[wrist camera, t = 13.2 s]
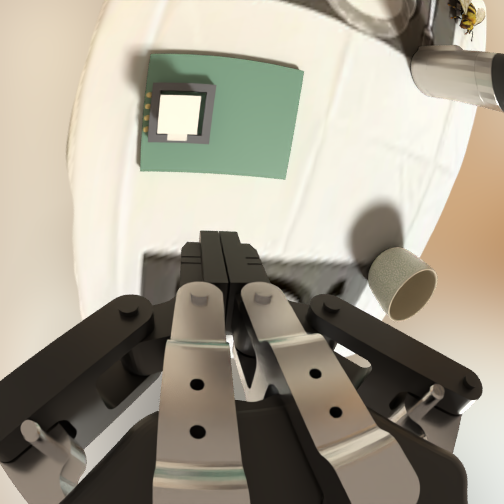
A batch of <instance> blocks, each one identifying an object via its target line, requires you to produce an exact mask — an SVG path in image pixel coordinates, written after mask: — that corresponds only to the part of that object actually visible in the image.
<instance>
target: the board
mask: <svg viewBox="0 0 504 504" xmlns="http://www.w3.org/2000/svg"><path fill="white" fill-rule="evenodd" d="M303 75H304V71H301V70H297V69H293V68H288V67H284V66H279V65H274V64H269V63H263V62H257V61H251V60H244V59H237V58H229V57H219V56H208V55H192V54H151V56H150V62H149V69H148V76H147V83H146V91H145V101H144V111H143V123H142V138H141V162H140V171H160V172H193V173H213V174H228V175H242V176H254V177H264V178H274V179H283V180H285V178H286V173H287V168H288V162H289V157H290V151H291V145H292V140H293V134H294V128H295V123H296V117H297V111H298V105H299V99H300V93H301V87H302V81H303ZM161 95H187V96H201V102H200V110H199V119H198V128H197V135H194V134H187V141H172V140H167V136H168V134H157V129H158V117H159V106H160V97H161Z"/></svg>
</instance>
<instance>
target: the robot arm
mask: <svg viewBox="0 0 504 504" xmlns="http://www.w3.org/2000/svg"><path fill="white" fill-rule="evenodd" d="M411 72H412V76H413V79H414V82H415V84H416V86H417V87H418V89H419V90H420V91H421V92H422V93H423V94H425V95H427V96H429V97H435V98H442V99H447V100H453V101H458V102H463V103H468V104H472V105H476V106H481V107H485V108H488V109H492V110H496V111H499V112H503V113H504V54H501V53H492V52H482V51H468V50H463V49H462V48H461V47H459V46H457V45H433V46H419V49H418V51H417V52H416V53H415V54H414V56H413V58H412V61H411ZM259 258H260V257H259V255H258V253H257V250H256V249H254V248H253V247H252V246H251V245H250V244H241V243H240V240H239V237H238V234H237V232H228V231H219V233H218V231H200V238H199V242H187V243H186V244H185V245H184V246H183V247H182V250H181V270H180V289H179V290H178V292H177V295H176V296H175V297H174V298H173V299H171V300H170V301H168V302H165V303H162V304H157V305H152V304H151V303H150V301H149V300H147V299H146V298H144V297H142V296H139V295H123V296H120V297H117V298H116V299H114V300H112V301H111V302H109V303H108V304H106V305H105V306H103V307H102V308H100V309H99V310H98V311H96V312H95V313H93V314H92V315H90V316H89V317H87V318H86V319H84V320H83V321H82V322H80V323H79V324H77V325H76V326H74V327H73V328H72V329H70V330H69V331H68V332H66V333H65V334H63V335H62V336H60V337H59V338H57V339H56V340H55V341H53V342H52V343H50V344H49V345H48V346H46V347H45V348H44V349H42V350H41V351H39V352H38V353H37V354H35V355H34V356H33V357H32V358H30V359H29V360H27V361H26V362H25V363H23V364H22V365H21V366H19V367H18V368H17V369H15V370H14V371H13V372H11V373H10V374H9V375H7V376H6V377H5V378H4V379H2V380H1V381H0V464H1V466H2V467H3V469H4V470H5V472H6V473H7V475H8V476H9V478H10V479H11V481H12V482H13V484H14V485H15V487H16V488H17V489H18V491H19V492H20V493H21V495H22V496H23V497H24V499H25V500H26V501H27V502H28V504H468V501H467V474H466V471H465V468H464V466H463V464H462V463H461V461H460V460H459V459H458V458H457V457H456V456H455V455H454V454H453V450H454V446H455V442H456V438H457V434H458V430H459V425H460V420H461V416H462V414H463V413H464V412H465V411H466V410H467V409H468V408H469V407H470V406H472V405H473V404H474V403H475V402H476V401H477V400H478V399H479V398H480V396H481V395H482V384H481V381H480V379H479V378H478V376H477V375H476V374H475V373H474V372H473V371H472V370H470V369H468V368H466V367H465V366H463V365H461V364H459V363H457V362H455V361H453V360H452V359H450V358H448V357H446V356H444V355H443V354H441V353H439V352H437V351H435V350H434V349H432V348H430V347H428V346H426V345H424V344H423V343H421V342H419V341H417V340H415V339H413V338H412V337H410V336H408V335H406V334H404V333H402V332H401V331H399V330H397V329H395V328H393V327H391V326H390V325H388V324H386V323H384V322H382V321H380V320H379V319H377V318H375V317H373V316H371V315H370V314H368V313H366V312H364V311H362V310H360V309H359V308H357V307H355V306H353V305H351V304H349V303H348V302H346V301H344V300H342V299H340V298H338V297H336V296H333V295H328V294H320V295H317V296H315V297H313V298H312V300H311V302H310V305H307V304H302V303H296V302H292V301H289V300H287V298H286V297H285V295H284V293H283V292H282V291H281V290H280V289H279V288H278V287H276V286H274V285H272V284H270V281H269V279H268V277H267V274H266V272H265V269H264V267H263V265H262V262H261V260H260V259H259ZM226 335H233V340H234V343H233V356H234V359H235V362H236V366H237V369H238V372H239V375H240V379H241V382H242V385H243V388H244V391H245V395H246V401H240V400H235V398H234V388H233V378H232V367H231V356H230V347H229V343H228V342H226ZM337 343H339V344H340V345H342V346H344V347H346V348H347V349H349V350H351V351H352V352H354V353H356V354H358V355H359V356H361V357H363V358H365V359H366V360H368V361H369V362H370V364H371V366H370V367H368V368H362V367H360V366H358V365H357V364H355V363H353V362H351V361H350V360H348V359H346V358H345V357H343V356H341V355H340V354H338V353H336V352H335V351H334V349H335V347H336V345H337ZM162 371H163V374H162V384H161V395H160V405H159V411H156V412H154V413H152V414H150V415H148V416H146V417H145V418H143V419H141V420H140V421H139V422H137V423H136V424H135V425H134V426H133V427H132V428H131V429H130V430H129V431H128V432H127V433H126V434H125V435H124V436H123V437H122V438H121V440H120V441H119V442H118V443H117V444H116V445H115V446H114V447H113V448H112V449H111V450H110V451H109V452H108V453H107V454H106V456H105V457H104V458H103V459H102V460H101V461H100V462H99V463H98V464H97V465H96V466H95V467H94V468H93V469H92V470H91V471H90V472H89V473H88V475H86V477H85V478H84V479H83V480H82V481H81V482H80V483H79V484H78V481H79V478H80V477H81V475H82V474H83V473H84V471H85V468H86V464H87V460H86V455H85V452H84V449H85V447H87V446H88V445H89V444H90V443H91V442H92V441H93V440H94V439H95V438H96V437H97V436H98V435H100V433H102V432H103V431H104V430H105V429H106V428H107V427H108V426H109V425H110V424H111V423H112V422H113V421H114V420H115V419H116V418H117V417H118V416H119V415H120V414H121V413H122V412H124V411H125V410H126V409H127V408H128V407H129V406H130V405H131V404H132V403H133V402H134V401H135V400H136V399H137V398H138V397H139V396H140V395H141V394H142V393H143V392H144V391H145V390H146V389H147V388H148V387H149V386H150V385H151V384H152V383H153V382H154V381H155V380H156V379H157V378H158V377H159V376H160V374H161V372H162Z"/></svg>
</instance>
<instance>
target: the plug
mask: <svg viewBox="0 0 504 504" xmlns="http://www.w3.org/2000/svg"><path fill="white" fill-rule="evenodd" d="M200 102H201V96H187V95H161V97H160V106H159V117H158V129H157V134H168V136H167V140H172V141H187V134H194V135H197V128H198V119H199V110H200Z"/></svg>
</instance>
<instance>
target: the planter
mask: <svg viewBox="0 0 504 504" xmlns="http://www.w3.org/2000/svg"><path fill="white" fill-rule="evenodd" d="M368 283H369V287H370V289H371V291H372V293H373V294H374V296H375V298H376V299H377V301H378V302H379V304H380V306H381V307H382V309H383V310H384V312H385V313H386V314H387V316H388V317H389V318H390V319H391V320H392V321H395V322H400V321H404V320H407V319H409V318H411V317H412V316H414V315H415V314H416V313H418V312H419V311H420V310H421V309H422V308H423V307H424V306H425V305H426V304H427V302H428V301H429V299H430V298H431V297H432V295H433V293H434V291H435V288H436V285H437V273H436V272H435V270H434V269H433V268H431V267H430V266H429V265H428V264H427V263H425V262H424V261H423V260H421V259H420V258H419V257H417V256H416V255H414V254H413V253H411V252H410V251H408V250H406V249H404V248H400V247H394V248H390V249H387V250H385V251H384V252H382V253H381V254H380V255H379V256H378V257H377V258H376V259H375V260H374V262H373V263H372V265H371V267H370V270H369V274H368Z"/></svg>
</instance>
